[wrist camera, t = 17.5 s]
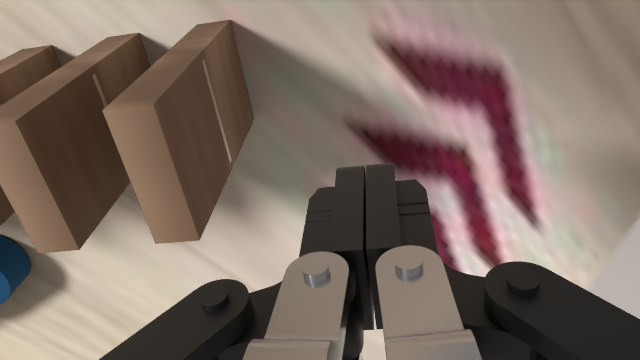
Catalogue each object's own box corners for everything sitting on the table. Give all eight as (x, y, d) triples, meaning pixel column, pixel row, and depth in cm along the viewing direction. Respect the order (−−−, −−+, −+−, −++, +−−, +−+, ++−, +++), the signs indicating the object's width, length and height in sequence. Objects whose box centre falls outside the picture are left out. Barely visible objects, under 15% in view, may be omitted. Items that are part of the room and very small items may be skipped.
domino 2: (141, 131, 27) (37, 253, 18) (107, 37, 24) (-33, 127, 16) (170, 128, 26) (79, 249, 18) (139, 32, 24) (15, 120, 15)
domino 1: (223, 122, 26) (154, 243, 17) (196, 24, 23) (101, 110, 15) (254, 119, 26) (200, 240, 17) (230, 19, 23) (154, 104, 15)
